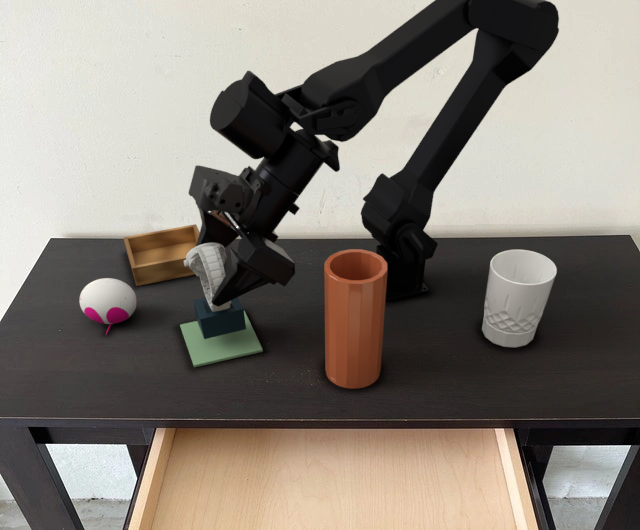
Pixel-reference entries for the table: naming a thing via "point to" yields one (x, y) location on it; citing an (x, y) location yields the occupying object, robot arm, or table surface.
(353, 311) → the vase
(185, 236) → the wooden box
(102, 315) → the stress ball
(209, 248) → the watch
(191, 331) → the mat
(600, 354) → the table surface
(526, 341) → the white cup
